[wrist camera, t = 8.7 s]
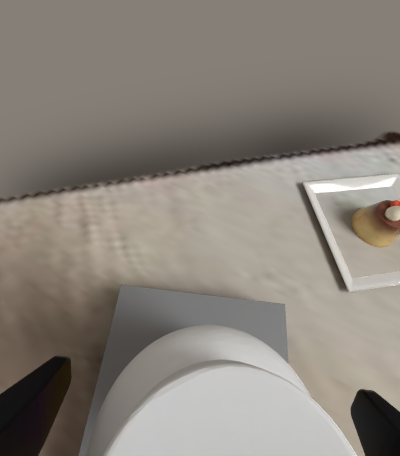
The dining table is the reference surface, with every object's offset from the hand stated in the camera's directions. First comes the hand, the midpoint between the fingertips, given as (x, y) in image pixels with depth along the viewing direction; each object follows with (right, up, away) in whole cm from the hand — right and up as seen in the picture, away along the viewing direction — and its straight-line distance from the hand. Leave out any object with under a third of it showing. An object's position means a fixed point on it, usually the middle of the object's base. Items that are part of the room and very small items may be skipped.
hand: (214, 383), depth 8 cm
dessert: (+17, +5, +18) cm, 26 cm away
